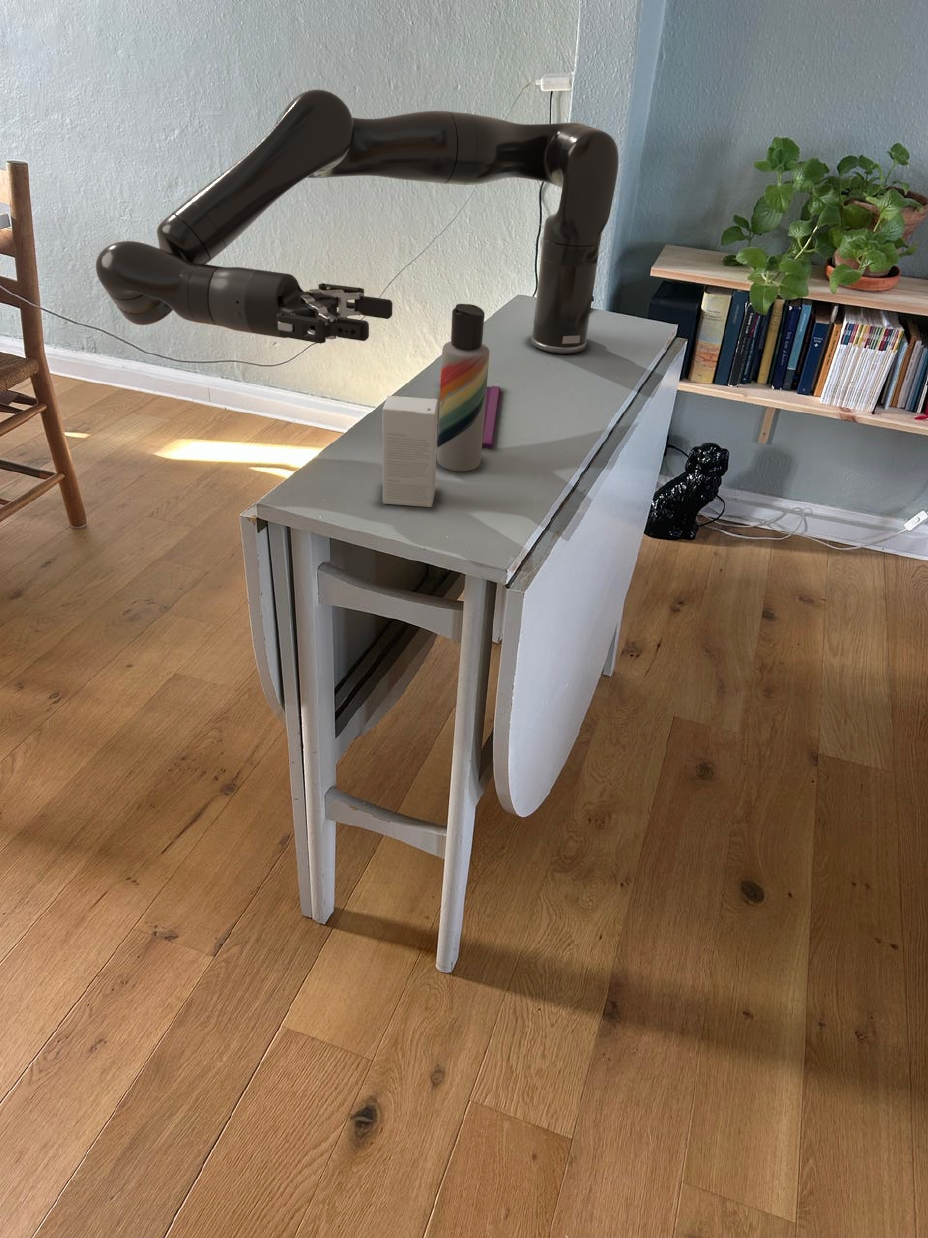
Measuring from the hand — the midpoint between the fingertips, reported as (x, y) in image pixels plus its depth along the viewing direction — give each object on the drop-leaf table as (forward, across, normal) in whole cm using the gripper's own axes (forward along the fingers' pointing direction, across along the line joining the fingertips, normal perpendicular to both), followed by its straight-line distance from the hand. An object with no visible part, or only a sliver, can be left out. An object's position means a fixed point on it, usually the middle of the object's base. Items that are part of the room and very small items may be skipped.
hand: (380, 320), depth 107 cm
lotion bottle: (+11, 0, +17) cm, 20 cm away
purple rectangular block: (+8, +15, +17) cm, 24 cm away
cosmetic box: (+8, -11, +17) cm, 22 cm away
